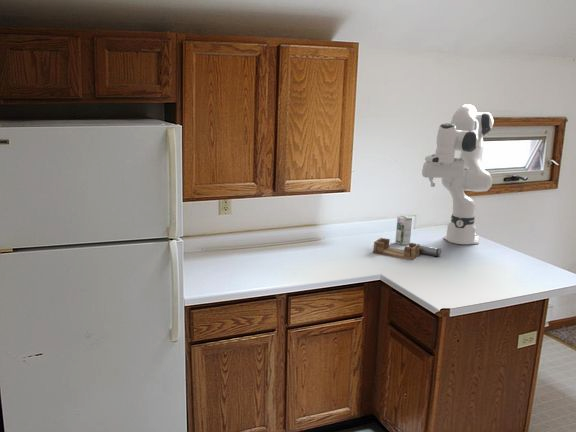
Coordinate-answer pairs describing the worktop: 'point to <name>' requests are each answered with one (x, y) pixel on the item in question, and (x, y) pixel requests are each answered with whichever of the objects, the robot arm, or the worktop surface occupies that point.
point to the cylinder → (430, 251)
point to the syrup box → (403, 230)
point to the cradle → (408, 253)
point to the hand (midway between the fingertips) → (441, 186)
